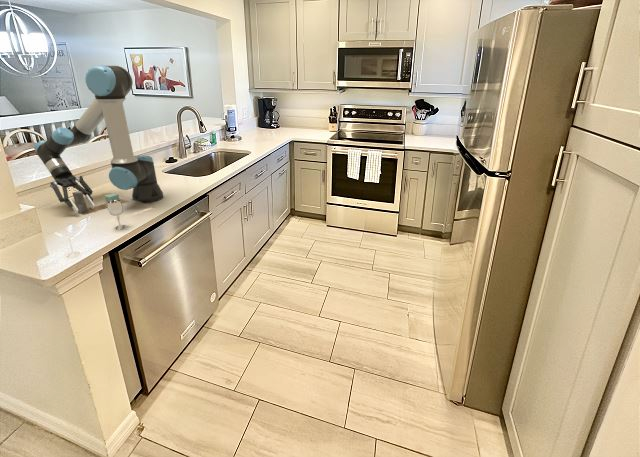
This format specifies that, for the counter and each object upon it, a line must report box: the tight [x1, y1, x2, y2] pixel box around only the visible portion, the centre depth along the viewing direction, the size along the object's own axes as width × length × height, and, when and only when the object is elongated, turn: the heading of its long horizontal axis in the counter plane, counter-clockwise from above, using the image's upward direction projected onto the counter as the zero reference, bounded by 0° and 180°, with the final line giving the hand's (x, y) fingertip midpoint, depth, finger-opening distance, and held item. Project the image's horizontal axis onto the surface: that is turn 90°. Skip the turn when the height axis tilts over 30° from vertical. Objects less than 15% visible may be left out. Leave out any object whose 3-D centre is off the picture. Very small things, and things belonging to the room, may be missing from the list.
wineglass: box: [107, 200, 127, 230], centre depth 152 cm, size 6×6×12 cm
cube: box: [104, 193, 120, 204], centre depth 178 cm, size 4×4×4 cm
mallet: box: [72, 190, 129, 216], centre depth 173 cm, size 22×7×11 cm, turn 146°
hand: (85, 209), depth 165 cm, fingers open, 7 cm apart
